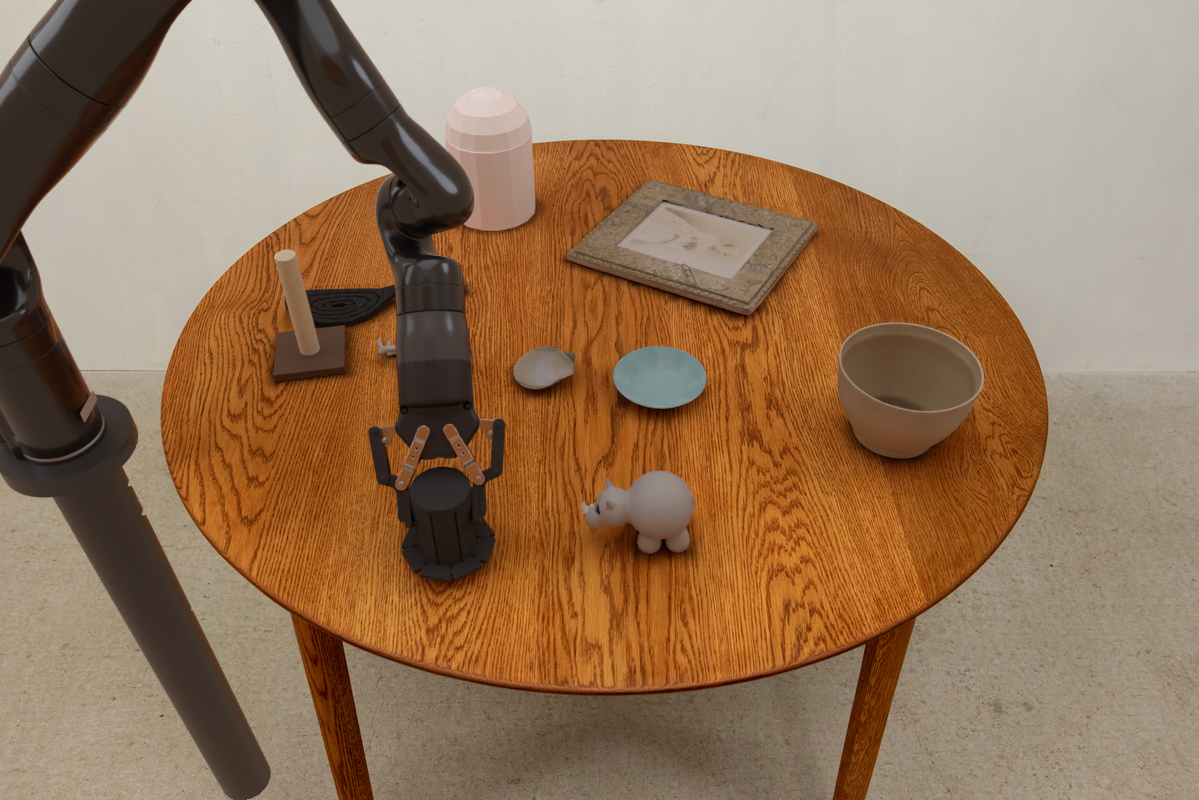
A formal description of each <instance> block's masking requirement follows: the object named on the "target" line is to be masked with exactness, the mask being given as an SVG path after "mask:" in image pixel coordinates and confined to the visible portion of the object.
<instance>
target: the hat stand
mask: <svg viewBox="0 0 1199 800" xmlns="http://www.w3.org/2000/svg"><path fill="white" fill-rule="evenodd" d="M273 258H274V262H275V266H276V271H277V274H278V276H279V280H280V284H281V287H282V292H283V295H284V296H285V299H286V302H287V306H288V310H289V311H288V310H287V311H288V313H289V316H290V320H291V324H292V329H293V330H289V331H283V332H282V331H279V332H277V333H276V341H275V351H274V361H273V371H272V376H273V379H274V382H275V383H277V382H285V381H295V380H302V379H304V380H305V379H312V378H319V377H329V376H335V375H336V376H337V375H345V374H347V329H346V326H345V325H342V326H333V327H317V328H316V327H315V326H316V325H314V322H313V318H312V314H311V310H310V306H309V303H308V299H307V295H306V291H305V290H306V287H305V284H304V280H303V276H302V272H301V267H300V264H299V260H298V256H297V253H296V251H295V250H294V249H288V248H287V249H282V250H279V251H277V252H276V253H275V254H274V256H273Z"/></svg>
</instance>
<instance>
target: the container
mask: <svg viewBox="0 0 1199 800" xmlns="http://www.w3.org/2000/svg"><path fill="white" fill-rule="evenodd" d="M445 120H446V121H445V131H444V142H445V143H444V144H445V149H446V150H447V151H448V152H449V153H450V154H451V155H452V156H453V157H454V158H455V159H456V160H457V161H458V162H459V164H460V165H461V166H462V167H463V169H464V170H465V172H466V174H467V175H468V177H469V180H470V182H471V185H472V188H473V192H474V209H473V212H472V215H471V216H470V218H469V219H468V220H467V221H466V222H465V223H464V224H463V225H464V226H466V227H467V228H469V229H474V230H477V231H483V232H484V231H485V232H486V231H487V232H488V231H489V232H492V231H493V232H496V231H497V232H499V231H504V230H509V229H514V228H516V227H519V226H521V225H523V224H525V223H527V222H528V221H529V220H530V219H531V218H532V217H533V216H534V215H535V212H536V191H535V190H536V188H535V170H534V154H533V153H534V152H533V133H532V126H531V120H530V117H529V113H528V112H527V111H526V109H525V108H524V106H522V104H521V103H520V102H519V100H518V99H517V98H516V96H514V94H512V93H508V92H507V91H504V90H502V89H500V88H497V87H493V86H480V87H476V88H472V89H471V90H469V91H467V92H466V93H464V94H462V95H461V96H460V97H459V98H457V99H456V100H455V101H454V103H453V105H452V106H451V108H450V109H449V111H448V113H447V116H446V119H445Z"/></svg>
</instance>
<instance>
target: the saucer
mask: <svg viewBox="0 0 1199 800" xmlns="http://www.w3.org/2000/svg"><path fill="white" fill-rule="evenodd" d="M612 378H613V383H614V386H615V387H616V389H617V391H619V393H620V394H621V395H622V397H625V398H626V399H627V400H629V401H631V402H632V403H635V404H636V405H639V406H641V407H645V408H649V409H654V410H655V409H656V410H667V409H673V408H678V407H681V406H684V405H687V404H689V403H690V402H692V401H694V400H695V399H697V398H698V397H700V395H701V394H702V392H703V391H704V390H705V387H706V385H707V372H706V370H705V368H704V366H703V364H702V363H701V362H700V361H699V360H698V359H697V358H696V357H695V356H693V355H692V354H691V353H689V352H687V351H685V350H682V349H680V348H676V347H671V346H662V345H656V346H655V345H654V346H653V345H652V346H645V347H641V348H637V349H634V350H632V351H630V352H628V353H627V354H625V355H624V356H622V357H621V358H620V359H619V360H618V362H617V363H616V364H615V366H614V369H613V374H612Z"/></svg>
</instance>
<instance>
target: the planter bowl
mask: <svg viewBox="0 0 1199 800" xmlns="http://www.w3.org/2000/svg"><path fill="white" fill-rule="evenodd" d="M837 361H838V362H837V364H838V368H837V369H838V370H837V391H838V396H839V401H840V404H841V407H842V409H843V412H844V414H845V416H846V419H847V420H848V422H849V423H850V425H851V428H852V431H853V434H854V436H855V438H856V439H857V441H858V442H859V443H860V444H861V445H862V446H864V447H865V448H866V449H867V450H869V451H871V452H873V453H874V454H877V455H880V456H882V457H886V458H891V459H912V458H915V457H918V456H920V455H922V454H924V453H925V452H927V451H928V450H929V449H930V448H931V447H932V446H934V445H936V444H938V443H940V442H941V441H943V440H945V439H946V438H947V437H949V436H950V435H951V434H952V433H953V432H955V431H956V429H958V427H959V426H961V424H962V423H963V422H964V421H965V419H966V418H967V416H968V415H969V414H970V412H971V409H972V408H973V406H974V404H975V402H976V400H977V399H978V398H979V395H980V394H981V392H982V390H983V387H984V384H985V374H984V369H983V366H982V363H981V362H980V360H979V358H978V357H977V355H976V354H975V353H974V352H973V351H972V350H971V349H970V348H969V347H968V346H967V345H966V344H964V343H963V342H962V341H960V340H959V339H957V338H955V337H953V336H952V335H950V334H948V333H945V332H943V331H941V330H939V329H936V328H933V327H929V326H927V325H922V324H917V323H911V322H910V323H909V322H881V323H876V324H871V325H867V326H865V327H862V328H859V329H857V330H855V331H854V332H852V333H851V334H850V335H849V336H847V337H846V339H844V341H843V343H842V345H841V346H840V349H839V352H838V360H837Z"/></svg>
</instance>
